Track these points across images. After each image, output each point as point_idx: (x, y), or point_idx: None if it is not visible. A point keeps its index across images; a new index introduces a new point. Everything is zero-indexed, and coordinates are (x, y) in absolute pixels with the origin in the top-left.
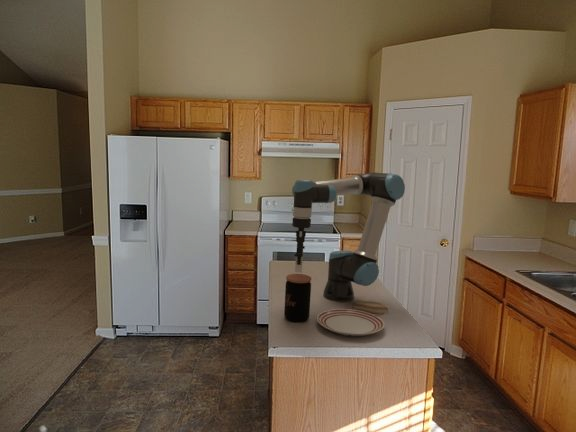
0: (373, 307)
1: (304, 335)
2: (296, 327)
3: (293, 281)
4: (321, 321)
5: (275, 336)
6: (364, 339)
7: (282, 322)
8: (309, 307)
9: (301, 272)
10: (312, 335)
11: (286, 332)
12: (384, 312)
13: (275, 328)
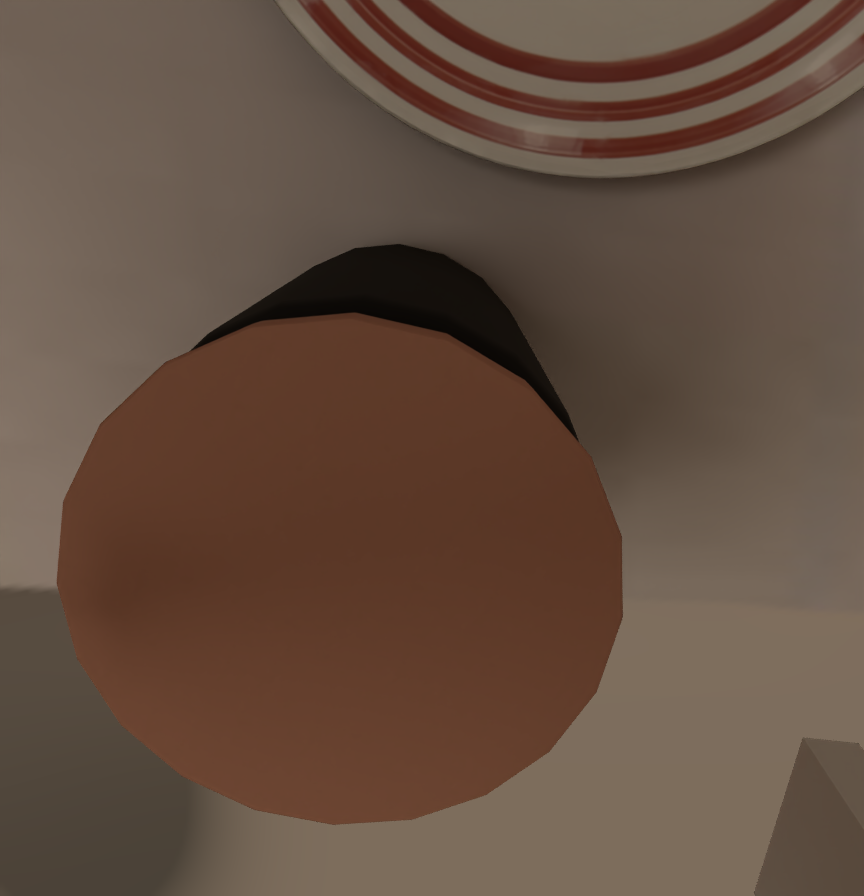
0: None
1: (815, 334)
2: (626, 395)
3: (576, 702)
4: (582, 116)
5: (807, 585)
6: None
7: None
8: (431, 262)
9: (856, 749)
10: (824, 254)
11: (734, 493)
12: None
13: (643, 581)
